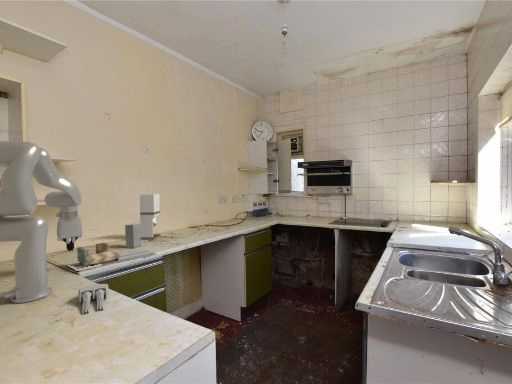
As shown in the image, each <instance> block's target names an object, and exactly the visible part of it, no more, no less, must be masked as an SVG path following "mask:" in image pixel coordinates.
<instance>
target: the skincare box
mask: <svg viewBox="0 0 512 384" xmlns="http://www.w3.org/2000/svg"><path fill="white" fill-rule="evenodd" d="M124 230H125V247H126V248H127V249H128V248H129V249H136V248H138V247H140V246H142V240H141V228H140V223H128V224H124Z"/></svg>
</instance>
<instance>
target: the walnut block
mask: <svg viewBox="0 0 512 384" xmlns="http://www.w3.org/2000/svg"><path fill="white" fill-rule="evenodd" d="M108 251H109V243H107V242H100V243H95V254H98V253H103V252H108Z"/></svg>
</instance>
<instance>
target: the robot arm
mask: <svg viewBox="0 0 512 384" xmlns="http://www.w3.org/2000/svg"><path fill="white" fill-rule="evenodd" d="M0 167H6V168H4V170H3V172H2V174H1V175H0V186H1V190H0V242H3V243H6V242H20V244H18V247H17V248H16V250H15V252H14V256H13V258H14V275H15V276H14V277H15V278H14V279H15V280H14V281H15V286H13V288H12V289H10V290H8V291H2V292H0V299H3V298H4V299H8V298H10V301H11V302H12V303H15V304H22V303H30V302H33V301H38V300H42V299H43V298H46V297H48V296H50V295H51V294H52V293H53V292H54V291H53V290H54V289H53V288H52V287H50V286H49V285H48V265H47V238H48V231H49V222H48V220H47V219H46V218H44V217H43V216H39V215H32V214H34V213H35V212H36V211H37V210H38V201H37V197H36V196H37V195H36V193H35V188H34V185H33V180H32V176H33V178H34V179H35V180H36V183H38V184H40V185H41V186H44V187H48V188H52V189H55V190H59V191H51V192H48V193H46V195H45V196H44V203H45V205H46V206H48V207H50V208H58V211H59V212H58V213H56V214H55V216H56V217H58V219H57V225H56V236H57V238H56V241H58V242H64V243H66V244H65V245H66V250H67V251H68V252H72V251H74V249H75V242H77V240H78V239H80V238H82V237H83V225H82V220H81V217H80V216H79V215H78V214H79V212H78V206H80V205H81V204H82V201H83V200H82V198H83V197H82V194H81V192H80V189H79V187H78V185H77V184H76V183H75V182H74V181H73V180H71V179H69V178H68V177H66V176H65V175H62V174H60V173H59V171H58V169H57V167H56V165H55V163H54V161H53V159H52V157H51V156H50V153H49V152H48V150H46V149H45V148H43V147H39V145H38V144H36V143H33V142H30V141H21V140H20V141H10V140H9V141H7V140H6V141H5V140H4V141H3V140H2V141H1V140H0Z"/></svg>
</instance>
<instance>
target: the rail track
mask: <svg viewBox="0 0 512 384" xmlns="http://www.w3.org/2000/svg"><path fill="white" fill-rule="evenodd" d="M120 254H121V258H118V261H115V260H114V259H113V260H108V261H104V262H99V263H95V265H98V264H102V266H103V267H105V266H104V265H107V266H109V265H108V264H112V265H115V264H114V263H116V264H121V263H124V262H129V261H133V260H137V259H143V258H146V257H149V256H151V257H152V256H155V255H156V254H157V253H155V252H153V251H149V250H147V249H138V250H133V251H129V252H124V253H120ZM68 265H70V266H74V267H76V269H79V268H84V267H88V266H91V265H84V264H82V263H80V262H79V261H78V262H75V263H71V264H68Z"/></svg>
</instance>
